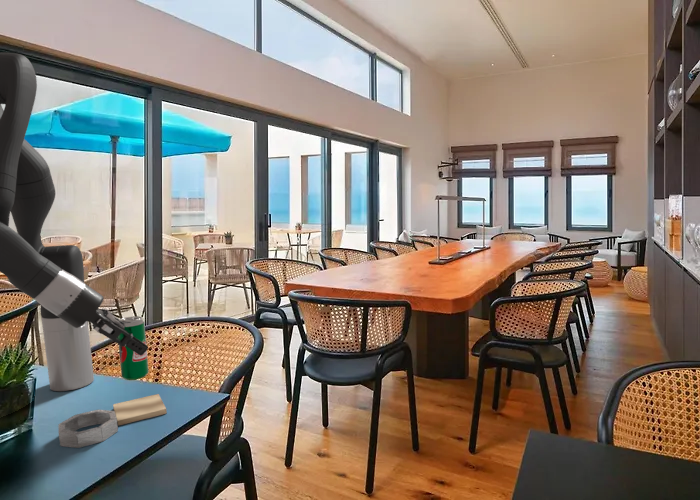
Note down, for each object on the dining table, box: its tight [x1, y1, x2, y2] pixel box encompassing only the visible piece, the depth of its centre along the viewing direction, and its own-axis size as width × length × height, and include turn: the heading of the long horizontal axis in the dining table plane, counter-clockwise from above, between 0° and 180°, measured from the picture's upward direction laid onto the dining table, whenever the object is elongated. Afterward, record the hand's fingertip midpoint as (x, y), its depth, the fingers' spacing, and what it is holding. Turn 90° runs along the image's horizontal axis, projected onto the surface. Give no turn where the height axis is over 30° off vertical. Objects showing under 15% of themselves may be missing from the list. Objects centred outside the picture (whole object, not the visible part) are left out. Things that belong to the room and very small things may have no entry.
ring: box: [57, 409, 119, 449], centre depth 93 cm, size 10×10×2 cm
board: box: [112, 393, 168, 426], centre depth 102 cm, size 9×9×1 cm
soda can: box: [118, 315, 150, 381], centre depth 100 cm, size 5×5×12 cm
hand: (142, 347), depth 101 cm, fingers closed on soda can, 5 cm apart
